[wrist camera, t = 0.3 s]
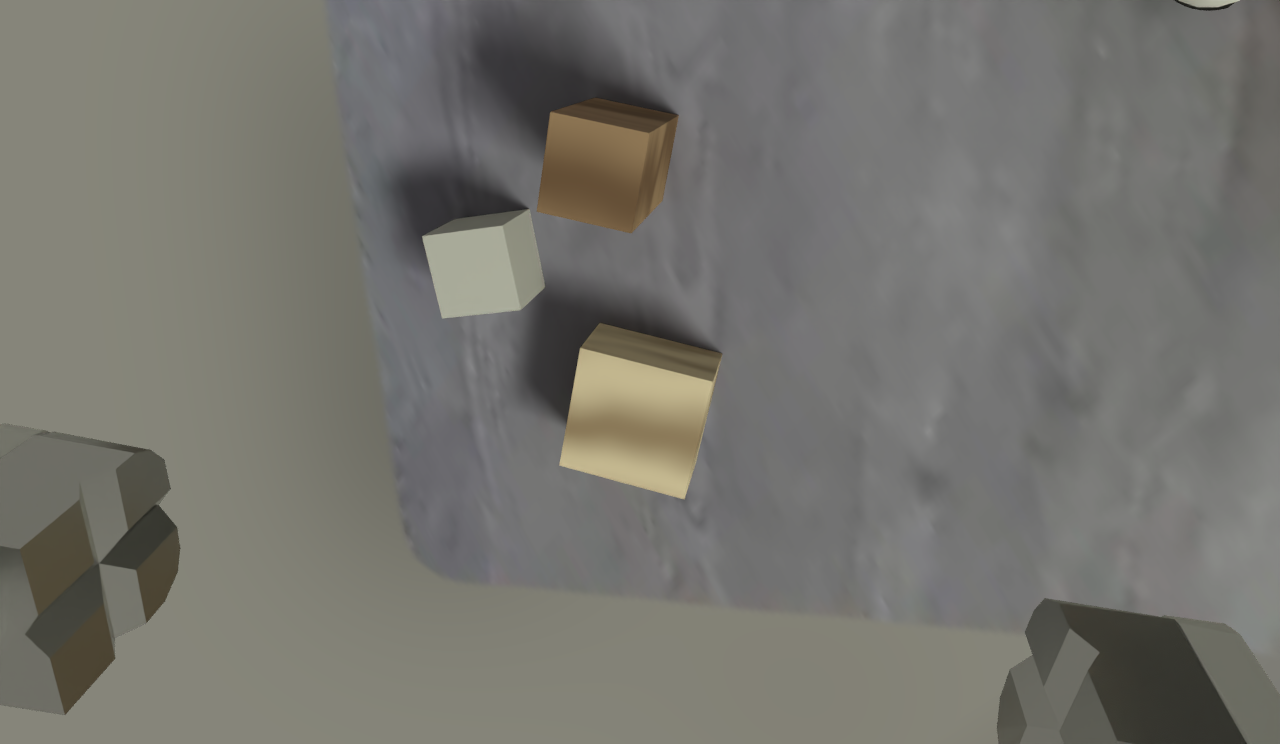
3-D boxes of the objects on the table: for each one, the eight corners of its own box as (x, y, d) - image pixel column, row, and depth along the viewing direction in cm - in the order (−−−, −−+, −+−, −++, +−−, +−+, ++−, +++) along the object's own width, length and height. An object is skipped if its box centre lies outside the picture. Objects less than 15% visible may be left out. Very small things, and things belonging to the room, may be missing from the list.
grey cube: (455, 218, 57) (421, 236, 52) (529, 208, 55) (502, 225, 51) (472, 295, 58) (442, 318, 54) (545, 286, 57) (520, 309, 53)
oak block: (600, 321, 57) (580, 347, 53) (722, 352, 56) (712, 381, 52) (580, 431, 60) (559, 465, 56) (695, 462, 60) (684, 499, 55)
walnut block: (595, 97, 52) (550, 111, 44) (678, 115, 52) (649, 133, 43) (581, 182, 54) (536, 211, 46) (662, 200, 54) (631, 233, 45)
